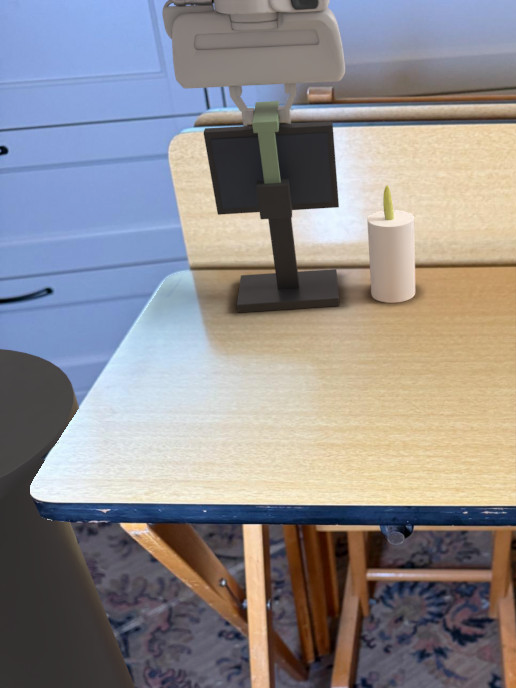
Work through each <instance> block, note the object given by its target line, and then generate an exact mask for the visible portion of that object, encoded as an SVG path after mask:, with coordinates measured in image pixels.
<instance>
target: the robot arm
mask: <svg viewBox="0 0 516 688" xmlns="http://www.w3.org/2000/svg"><path fill="white" fill-rule="evenodd" d="M330 2H331V0H167V1H166V2H165V3H164V5H163V7H162V11H161V13H162V18H163V19H162V20H163V26H164V30H165V32H166V35H167V36H168V38H170V39H171V50H172V62H173V63H172V64H173V71H174V77H175V81H176V82H177V83H178V85H180V86H181V87H182V88H183V89H204V88H205V89H206V88H225V87H228V91H229V92H228V93H229V97H230V99H231V101H232V102H233V103H234V104H235V106H236V107H237V109H238V111H239V112H241V119H242V125H243V126H252V121H253V115H254V109H255V107H248V106H247V104H246V103H245V102H244V100H243V98H242V97H241V96H242V95H243V87H245V86H249V87H250V86H268V85H283V86H284V94H287V98H286V100H285V102H284V105H279V106H278V116H279V125H284V124H292V116H291V109H292V107H293V104H294V101H295V99H296V96H297V93H298V87H297V84H305V83H306V84H309V83H331V82H340V81H341V80H342V79H343V78H344V76H345V74H346V63H345V62H346V61H345V54H344V46H343V41H342V35H341V33H340V32H341V31H340V27H339V23H338V20H337V18H336V15H335V14H334V12H333V11H332V10H331V9H330V8H329V5H330Z"/></svg>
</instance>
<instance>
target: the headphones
mask: <svg viewBox="0 0 516 688" xmlns="http://www.w3.org/2000/svg"><path fill="white" fill-rule="evenodd" d="M278 106H280V101H279V100H274V101H273V100H271V101H256V102H255V103H254V115H253V121H252V126H253V133H258V139H259V146H260V154H261V162H262V169H263V177H264V180H261V181H257V184H256V190H257V197H258V205H259V212H258V213H259V219H260V220H268V219H276V218H293V210H292V204H291V195H290V187H289V179H280V171H279V163H278V154H277V146H276V138H275V132H278V131H279V116H278Z"/></svg>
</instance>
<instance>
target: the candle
mask: <svg viewBox="0 0 516 688" xmlns="http://www.w3.org/2000/svg"><path fill="white" fill-rule="evenodd" d="M391 193H392V192H391V189H390V186H389V185H385V187H384V190H383V196H382V197H383V198H382V201H383V202H382V203H383V210H380V211H376V212H374V213H371V214H370V215H368V216H367V220H366V221H367V223H366V224H367V239H368V240H367V241H368V242H367V243H368V257H369V277H370V295H371V297H372V298H373V299H374V300H376V301H377V302H382V303H387V304H388V303H389V304H390V303H391V304H395V303H401V302H405V301H408V300H411V299H413V297H415V295H416V247H415V245H416V244H415V242H416V241H415V239H416V238H415V216H414V214H413V213H410V212H409V211H405V210H399V209H394V204H393V199H392V194H391Z"/></svg>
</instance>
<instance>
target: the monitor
mask: <svg viewBox="0 0 516 688" xmlns="http://www.w3.org/2000/svg"><path fill="white" fill-rule="evenodd" d="M275 138H276V146H277V154H278V163H279V171H280V179H289V187H290V195H291V204H292V211H302V210H318V209H334V208H335V209H336V208H337V209H338V208H340V202H339V201H340V200H339V189H338V177H337V174H338V173H337V161H336V149H335V136H334V124H333V121H330V120H329V121H314V122H313V121H312V122H295V123H293V122H292V123H291V124H284V125H279V131H278V132H275ZM203 140H204V144H205V149H206V156H207V160H208V167H209V173H210V179H211V183H212V184H211V185H212V189H213V196H214V201H215V207H216V213H217V215H218V216H219V215H220V216H221V215H233V214H234V215H235V214H249V213H250V214H252V213H260V212H259V205H258V197H257V190H256V184H257V181H261V180H264V177H263V169H262V162H261V154H260V146H259V139H258V133H253V126H244V125H243V126H241V125H240V126H223V127H222V126H221V127H205V128H204V130H203ZM292 218H293V217H292ZM292 218H276V219H267V220H268V227H269V235H270V241H271V249H272V257H273V263H274V264H273V265H274V272H271V273H255V274H243V275H242V274H241V275H240V279H239V288H238V294H237V295H238V296H237V301H236V307H237V312H238V313H239V314H241V313H255V312H269V311H270V312H271V311H286V310H299V309H300V310H301V309H313V308H330V307H340V294H339V283H338V272H337V268H333V269H316V270H303V271H299V270H298V263H297V254H296V245H295V236H294V227H293V220H292Z"/></svg>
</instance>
